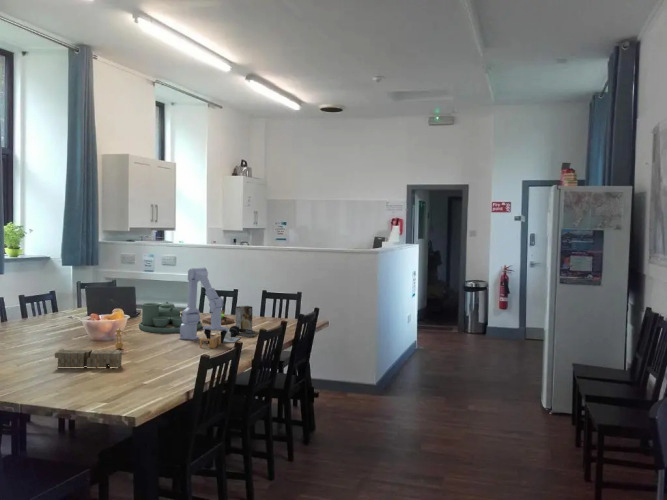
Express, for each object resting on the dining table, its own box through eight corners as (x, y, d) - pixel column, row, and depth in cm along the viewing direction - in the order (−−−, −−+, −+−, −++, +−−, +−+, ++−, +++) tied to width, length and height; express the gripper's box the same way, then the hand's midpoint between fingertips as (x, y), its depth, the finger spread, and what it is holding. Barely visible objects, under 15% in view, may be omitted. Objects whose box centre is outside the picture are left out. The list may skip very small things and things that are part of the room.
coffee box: (247, 329, 384) (247, 305, 383) (252, 330, 379) (253, 306, 378) (235, 330, 378) (235, 306, 377) (240, 332, 373) (240, 307, 372)
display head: (204, 341, 341) (204, 332, 341) (211, 337, 355) (212, 328, 355) (233, 343, 339) (233, 334, 339) (240, 338, 353) (240, 329, 353)
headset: (225, 317, 368) (257, 321, 369) (223, 332, 368) (255, 336, 369) (222, 321, 355) (255, 325, 356) (220, 336, 355) (253, 340, 356)
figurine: (127, 348, 319) (128, 326, 318) (125, 350, 313) (125, 328, 312) (112, 348, 317) (112, 326, 317) (109, 350, 311) (109, 328, 311)
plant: (218, 319, 422) (219, 304, 421) (238, 322, 410) (238, 307, 410) (197, 322, 405) (197, 307, 405) (217, 326, 394) (217, 310, 394)
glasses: (199, 347, 325) (199, 338, 325) (207, 342, 338) (207, 334, 338) (213, 348, 324) (214, 339, 324) (221, 343, 337) (221, 334, 337)
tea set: (169, 336, 356) (169, 309, 355) (126, 328, 377) (126, 303, 376) (214, 327, 390) (215, 303, 389) (172, 320, 411) (172, 297, 410)
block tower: (122, 367, 282) (60, 364, 279) (123, 349, 282) (61, 347, 279) (118, 371, 274) (54, 369, 271) (119, 353, 274) (54, 351, 271)
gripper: (201, 320, 327) (200, 343, 328) (226, 321, 325) (225, 345, 326) (205, 318, 334) (205, 341, 335) (229, 319, 332) (229, 342, 333)
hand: (215, 343), depth 331 cm, fingers open, 7 cm apart
